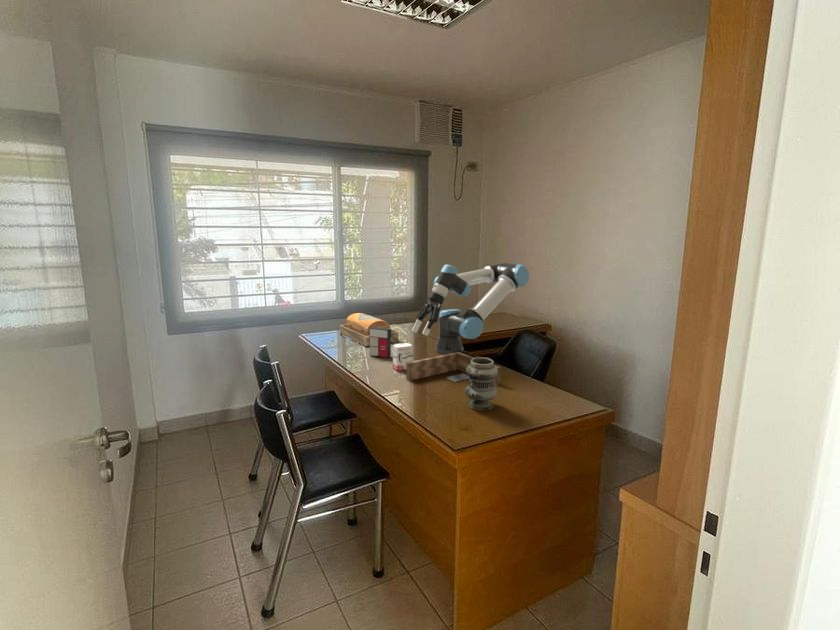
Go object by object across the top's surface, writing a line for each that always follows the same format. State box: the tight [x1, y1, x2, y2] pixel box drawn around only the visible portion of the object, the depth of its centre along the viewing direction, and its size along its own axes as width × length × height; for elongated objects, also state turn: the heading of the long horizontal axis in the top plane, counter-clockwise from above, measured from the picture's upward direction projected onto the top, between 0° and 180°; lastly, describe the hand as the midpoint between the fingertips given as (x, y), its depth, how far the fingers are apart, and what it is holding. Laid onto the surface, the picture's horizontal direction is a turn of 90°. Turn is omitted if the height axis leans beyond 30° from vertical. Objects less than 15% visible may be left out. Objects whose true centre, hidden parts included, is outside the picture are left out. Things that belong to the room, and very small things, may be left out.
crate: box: [339, 324, 399, 347], centre depth 267 cm, size 22×35×6 cm, turn 35°
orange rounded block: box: [345, 312, 391, 336], centre depth 266 cm, size 30×16×14 cm, turn 33°
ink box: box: [392, 342, 414, 372], centre depth 208 cm, size 9×5×12 cm, turn 117°
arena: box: [405, 352, 501, 387], centre depth 191 cm, size 30×28×8 cm
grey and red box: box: [369, 327, 392, 359], centre depth 228 cm, size 11×4×15 cm, turn 68°
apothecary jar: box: [464, 356, 498, 411], centre depth 165 cm, size 12×12×18 cm
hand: (419, 333), depth 210 cm, fingers open, 13 cm apart
